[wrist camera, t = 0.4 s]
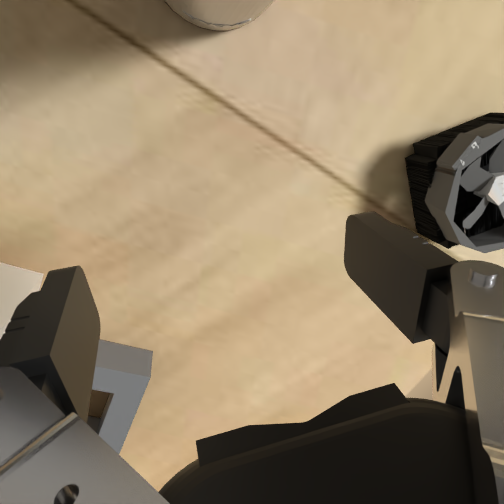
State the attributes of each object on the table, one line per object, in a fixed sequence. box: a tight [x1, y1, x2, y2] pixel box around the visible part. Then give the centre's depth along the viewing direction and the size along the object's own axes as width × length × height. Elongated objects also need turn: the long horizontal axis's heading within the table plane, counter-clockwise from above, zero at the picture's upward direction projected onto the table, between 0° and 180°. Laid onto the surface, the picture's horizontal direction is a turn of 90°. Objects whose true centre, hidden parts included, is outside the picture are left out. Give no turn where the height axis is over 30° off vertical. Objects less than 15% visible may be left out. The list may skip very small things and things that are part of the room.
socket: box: [87, 339, 153, 454], centre depth 32 cm, size 11×11×4 cm
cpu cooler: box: [405, 113, 504, 253], centre depth 30 cm, size 10×6×10 cm
